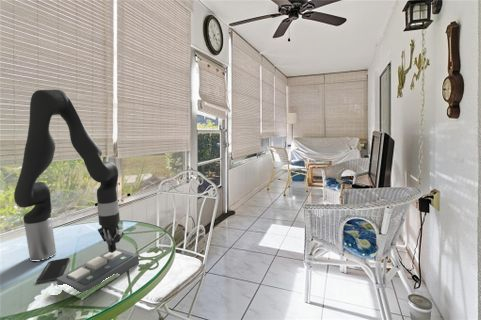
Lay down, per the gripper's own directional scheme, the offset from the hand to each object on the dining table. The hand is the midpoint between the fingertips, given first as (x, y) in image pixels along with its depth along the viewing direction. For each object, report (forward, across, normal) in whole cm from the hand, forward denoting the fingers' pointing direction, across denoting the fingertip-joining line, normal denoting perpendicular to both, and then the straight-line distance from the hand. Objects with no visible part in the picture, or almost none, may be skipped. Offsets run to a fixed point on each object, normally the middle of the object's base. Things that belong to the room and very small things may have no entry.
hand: (112, 251), depth 106 cm
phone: (+6, -18, -13) cm, 23 cm away
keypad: (+6, +2, -7) cm, 9 cm away
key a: (+3, 0, -14) cm, 15 cm away
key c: (+4, 0, 0) cm, 4 cm away
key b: (+3, 0, -7) cm, 8 cm away
